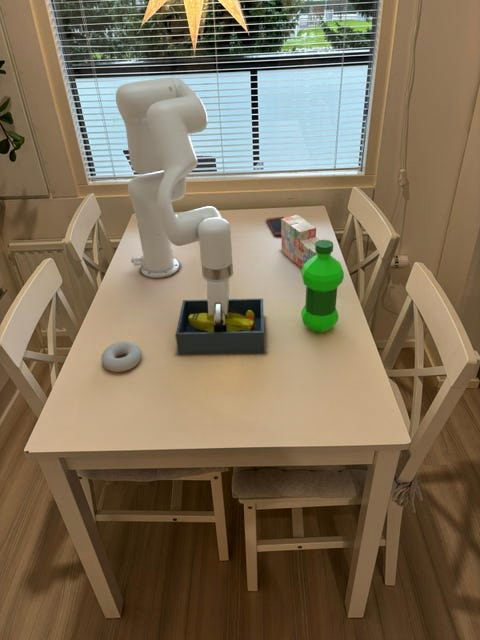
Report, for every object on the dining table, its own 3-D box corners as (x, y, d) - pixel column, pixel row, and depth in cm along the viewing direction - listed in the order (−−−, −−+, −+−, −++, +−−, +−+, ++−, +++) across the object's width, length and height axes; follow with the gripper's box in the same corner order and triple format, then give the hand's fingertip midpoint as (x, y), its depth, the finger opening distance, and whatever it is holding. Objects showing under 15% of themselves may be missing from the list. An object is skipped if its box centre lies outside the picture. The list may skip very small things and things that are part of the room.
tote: (178, 354, 122) (175, 334, 118) (185, 319, 135) (183, 300, 131) (264, 353, 121) (263, 332, 117) (263, 317, 134) (263, 298, 130)
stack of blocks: (329, 274, 151) (332, 239, 144) (312, 279, 149) (314, 243, 142) (296, 246, 167) (297, 214, 160) (280, 250, 165) (280, 217, 158)
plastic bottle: (336, 340, 124) (344, 255, 109) (296, 335, 127) (298, 251, 112) (340, 318, 132) (349, 236, 117) (303, 313, 134) (306, 232, 120)
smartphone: (275, 234, 173) (266, 218, 185) (275, 237, 174) (266, 220, 186) (294, 232, 174) (284, 216, 186) (293, 234, 175) (283, 218, 187)
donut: (94, 366, 120) (123, 379, 115) (91, 356, 118) (120, 368, 113) (122, 345, 127) (150, 356, 122) (119, 334, 125) (148, 345, 120)
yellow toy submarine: (253, 343, 123) (252, 312, 118) (187, 337, 127) (183, 306, 121) (257, 329, 128) (257, 298, 123) (193, 323, 132) (189, 293, 126)
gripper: (205, 252, 123) (210, 307, 133) (198, 288, 109) (205, 346, 119) (234, 251, 123) (237, 306, 133) (231, 287, 109) (234, 346, 119)
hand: (221, 325), depth 126 cm, fingers open, 8 cm apart
